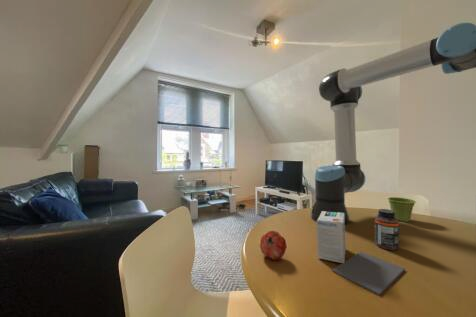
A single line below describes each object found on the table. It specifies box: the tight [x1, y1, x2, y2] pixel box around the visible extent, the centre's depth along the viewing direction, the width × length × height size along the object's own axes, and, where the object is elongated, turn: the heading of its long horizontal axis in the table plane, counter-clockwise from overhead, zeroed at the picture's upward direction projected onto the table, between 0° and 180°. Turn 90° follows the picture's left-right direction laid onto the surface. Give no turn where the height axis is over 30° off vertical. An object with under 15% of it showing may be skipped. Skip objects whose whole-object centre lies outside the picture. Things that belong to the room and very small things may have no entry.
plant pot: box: [387, 196, 417, 223], centre depth 84 cm, size 9×9×9 cm
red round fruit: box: [259, 230, 287, 261], centre depth 55 cm, size 7×7×10 cm
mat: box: [331, 251, 405, 296], centre depth 48 cm, size 10×15×1 cm, turn 124°
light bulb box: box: [316, 211, 347, 264], centre depth 56 cm, size 11×7×11 cm, turn 149°
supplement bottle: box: [374, 208, 400, 251], centre depth 60 cm, size 6×6×11 cm
